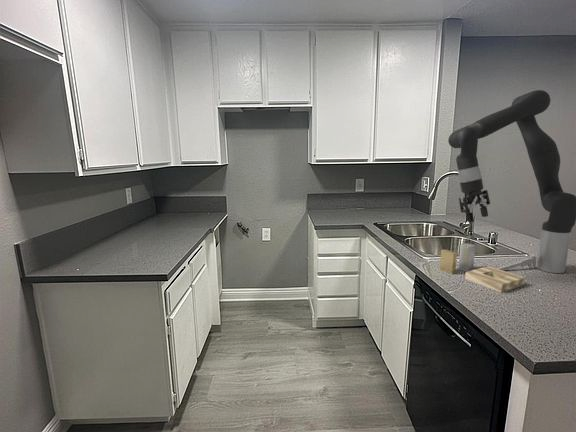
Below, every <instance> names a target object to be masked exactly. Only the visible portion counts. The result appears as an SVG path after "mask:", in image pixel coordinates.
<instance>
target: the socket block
mask: <svg viewBox="0 0 576 432" xmlns="http://www.w3.org/2000/svg"><path fill="white" fill-rule="evenodd" d="M496 268H497V267H496ZM496 268H495V267H492V266H489V265H487V266H485V267H480V268H476V269H473V270H471V271H465V277H464V278H465V280H466V281H469V282H471V283H475V284H477V285H480V286H483V287H484V288H488V289H490V290H494V291H496V292H499V293H504V292H507V291H510V290H512V289H516V288H520V287H522V286H525V281H526V277H524V276H522V275H518V274H515V273H512V272H509V271H507V270H504V271H503V270H499V269H496Z"/></svg>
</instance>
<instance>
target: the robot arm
mask: <svg viewBox="0 0 576 432" xmlns="http://www.w3.org/2000/svg"><path fill="white" fill-rule="evenodd" d="M550 104H551V96H550V94H549V93H548V92H547V91H545V90H542V89H536V90H533V91H530V92H528V93H524V94H522V95H518V96H517V97H515V98H514V99H513V101H512V102H511V105H510V106H508V107H505V108H503V109H501V110H499V111H496V112H492V113H490V114H488V115H486V116H484V117H482V118H480V119H478V120H476V121H475V122H473V123H471V124H469V125H468V124H467V125H466V126H464V127H461V128H459V129H456V130H454V131H453V132H451V134H450V135H449V136H448V141H447V142H448V144H449V146H450V147H451V148H452V149H453V148H454V149H460V154H458V155H457V156H456V159H455V160H456V165H457V166H456V167H457V171H458V172H457V173H458V181H459V186H460V190H461V193H463V194H464V196H461V197H459V198H458V201H459V203H458V204H459V208H460V213H464V214H465V216H466V221H467V222H468V223H474V222H475V218H474V214H473V210H474V208H475V206H477V205H478V206H479V209H480V210H479V211H480V214H481V217H483V218H484V217H485V218H486V217H488V216H489V213H488V212H489V211H488V206H489V205H490V204H491V200H490V196H489V193H488V192H489V191H488V190H487V189H484V182H483V179H482V173H481V169H480V167H479V161H478V157H477V155H478V144H479V140H480V139H482V138H485V137H487V136H490V135H492V134H494V133H495V132H498V131H500V130H501V129H503V128H505V127H507V126H509V125H512V124H513V123H515V122H516V124H517V127H518V128H519V131H520V133H521V136H522V139H523V141H524V144H525V145H524V146H525V147H526V150H527V151H526V152H527V155H528V157H529V158H528V159H529V161H530V164H531V167H532V170H533V173H534V176H535V179H536V181H537V185H538V191H539V196H540V202H541V205H542V207H543V209H544V210H545V211H547V212H548V213H549V215H548V219H547V221H543V223H542V225H541V233H540V239H539V240H540V241H539V248H538V254H537V255H538V256H537V261H536V268H537V269H538V270H540V271H543V272H547V273H552V274H564V273H565V272H566V267H567V261H568V255H569V248H570V243H571V234H572V229H573V228H574V226H575V225H576V195H574V194H572V193H569V192H565V191H564V190H563V188H562V186H561V182H560V178H559V173H560V168H561V156H560V152H559V149H558V145H557V144H556V141H555V140H554V139H553V138H552V137H551V136H550V135H548V134H547V133H546V132H545V131H544V130H543V129H542V128H541V127H540V125H539V124H538V122H537V118H536V116H537V115H539V114H541V113H542V114H543V113H544V112H545V111H546V110H547V109H548V108H549V106H550Z"/></svg>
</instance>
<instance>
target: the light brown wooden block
mask: <svg viewBox="0 0 576 432" xmlns="http://www.w3.org/2000/svg"><path fill="white" fill-rule="evenodd" d="M457 254H458V253H457V252H454V251H452V250H449V249H441V250H440V261H439V270H440V271H442V272H445V273H448V274H450V275H454V274H455V275H456V271H457V270H456V269H457V259H458V258H457V257H458V255H457Z"/></svg>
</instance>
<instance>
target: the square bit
mask: <svg viewBox="0 0 576 432" xmlns="http://www.w3.org/2000/svg"><path fill="white" fill-rule="evenodd" d="M475 253H476V245H475V244H471V243H468V242H466V243H462V244H460V246H459V257H458V269H459V270H461V271H464V272H468V271H472V270H474V267H475V266H474V264H475V255H476V254H475Z"/></svg>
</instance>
